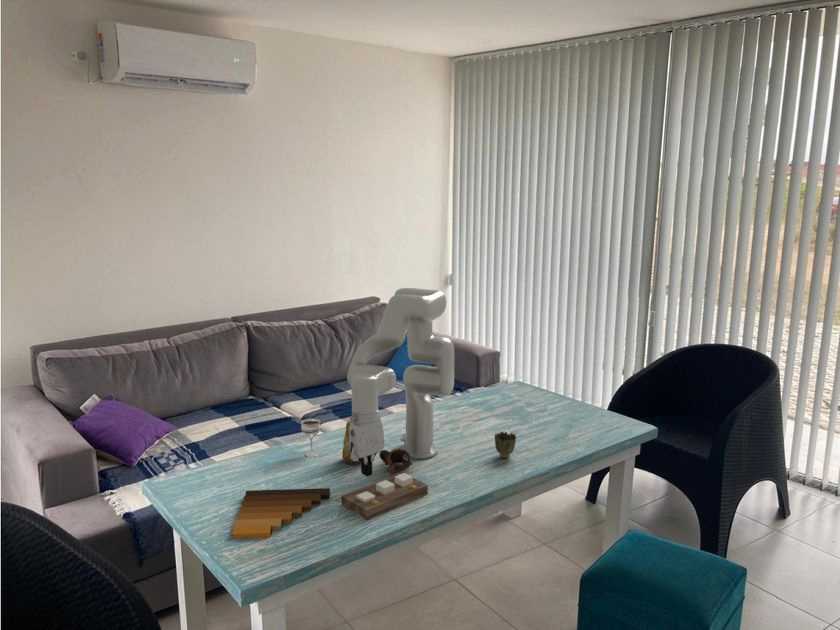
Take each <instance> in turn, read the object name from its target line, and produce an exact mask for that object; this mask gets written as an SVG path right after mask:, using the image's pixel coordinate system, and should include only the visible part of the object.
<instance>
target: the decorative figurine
mask: <svg viewBox="0 0 840 630" xmlns="http://www.w3.org/2000/svg"><path fill="white" fill-rule="evenodd" d="M351 422H352V421H350V419H349V420H347V422H346V425H345V434H344V437H343V441H342V442H343V447H342V454H341V455H342V459H343V461H344V462H347V463H349V464H352V465H357V464H361V462H359V461H352V460H351V454H350V452H349V432H350V425H351Z"/></svg>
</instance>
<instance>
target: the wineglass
mask: <svg viewBox="0 0 840 630" xmlns="http://www.w3.org/2000/svg"><path fill="white" fill-rule="evenodd" d="M300 423H301V428H300V430H301V432H302V434H303V435H305V436H307V437H309V439H310V440H309V441H310V451H307V452H305V453H306V454H305V453H304V456H305V455H306V456H307V458H314V456H315V457H318V456H319V455H318V453H319V452H317V451H313V438H314V436H317V435H318V434H319V433H320V432H321V429H322V428H321V427H322V426H321V424H320V423H321V420H320V419H319V418H314V417H313V418H305V419H303V420H301V422H300ZM306 456H305V457H306Z"/></svg>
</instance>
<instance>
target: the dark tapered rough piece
mask: <svg viewBox="0 0 840 630" xmlns="http://www.w3.org/2000/svg"><path fill="white" fill-rule="evenodd" d="M516 440H517V436H516V434H515V433H513V432H511V433H508V432H507V431H505V432H503V431H500V432H497V433H495V434H494V445H495V449H496V452H497V453H499V458H501V459H503V460H505V459H510V456H511V454H512V453H513V452H514V450H515V448H516V447H515V446H516V442H517V441H516Z"/></svg>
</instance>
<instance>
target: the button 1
mask: <svg viewBox="0 0 840 630" xmlns="http://www.w3.org/2000/svg"><path fill="white" fill-rule="evenodd" d="M356 499H358V500H360V501H362V502H363V503H366V502H369V501H371V500H374V499H375V495H373V494H371V493H369V492H367V491H366V492H363V493H361V494H358V495H356Z"/></svg>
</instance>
